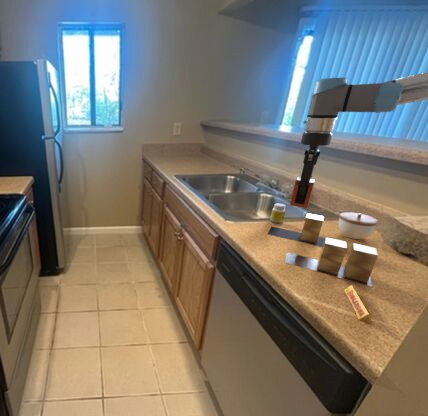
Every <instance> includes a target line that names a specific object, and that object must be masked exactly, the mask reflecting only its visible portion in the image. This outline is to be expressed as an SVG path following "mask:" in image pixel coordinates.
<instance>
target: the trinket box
mask: <svg viewBox="0 0 428 416" xmlns="http://www.w3.org/2000/svg"><path fill="white" fill-rule="evenodd" d="M377 225H379V220H378V219H376V218H375V217H373V216H371V215H367V214H362V213H361V212H358V213H357V212H342V213H340V214H339V218H338V222H337V227H338V230H339V232H340V233H341V234H342V235H343V236H344V237H346V238H349V239H352V240H363V239H366V238H369V237H370V236H371V235H372V234H373V233H374V231H375V230H376V228H377Z"/></svg>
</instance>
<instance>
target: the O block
mask: <svg viewBox="0 0 428 416" xmlns="http://www.w3.org/2000/svg"><path fill="white" fill-rule="evenodd" d="M324 218H325V217H324V215H318V214H312V213H306V216H305V219H304V223H303V227H302V230H301V231H302V232H301V233H302V234H301V237H300V240H304V241H309V242H313V243H317V240H318V237H320V233H321V229H322V227H323V223H324Z"/></svg>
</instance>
